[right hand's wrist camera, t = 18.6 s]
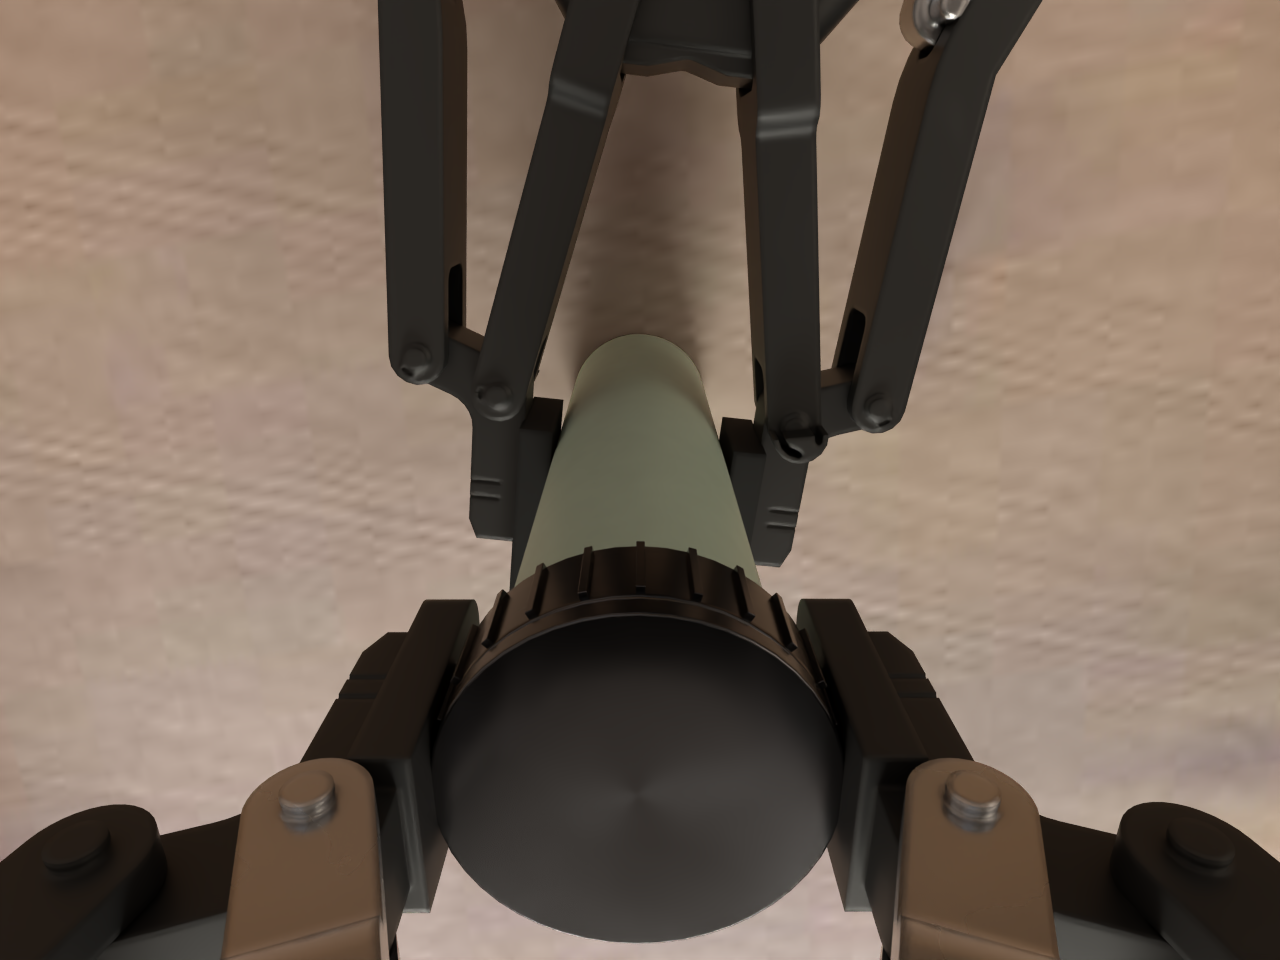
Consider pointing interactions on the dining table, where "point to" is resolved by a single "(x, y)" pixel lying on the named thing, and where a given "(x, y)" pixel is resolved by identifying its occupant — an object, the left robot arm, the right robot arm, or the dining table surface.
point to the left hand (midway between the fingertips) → (616, 650)
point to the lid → (637, 748)
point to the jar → (638, 463)
